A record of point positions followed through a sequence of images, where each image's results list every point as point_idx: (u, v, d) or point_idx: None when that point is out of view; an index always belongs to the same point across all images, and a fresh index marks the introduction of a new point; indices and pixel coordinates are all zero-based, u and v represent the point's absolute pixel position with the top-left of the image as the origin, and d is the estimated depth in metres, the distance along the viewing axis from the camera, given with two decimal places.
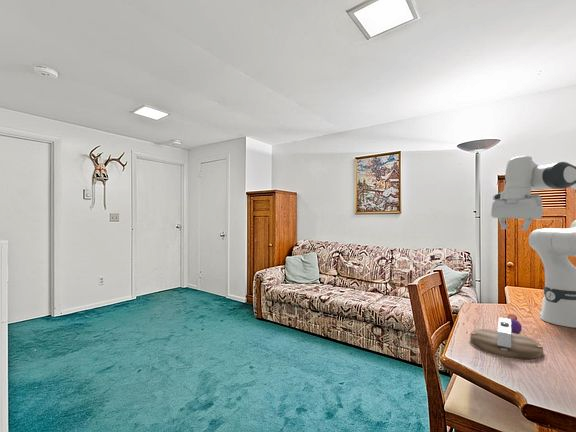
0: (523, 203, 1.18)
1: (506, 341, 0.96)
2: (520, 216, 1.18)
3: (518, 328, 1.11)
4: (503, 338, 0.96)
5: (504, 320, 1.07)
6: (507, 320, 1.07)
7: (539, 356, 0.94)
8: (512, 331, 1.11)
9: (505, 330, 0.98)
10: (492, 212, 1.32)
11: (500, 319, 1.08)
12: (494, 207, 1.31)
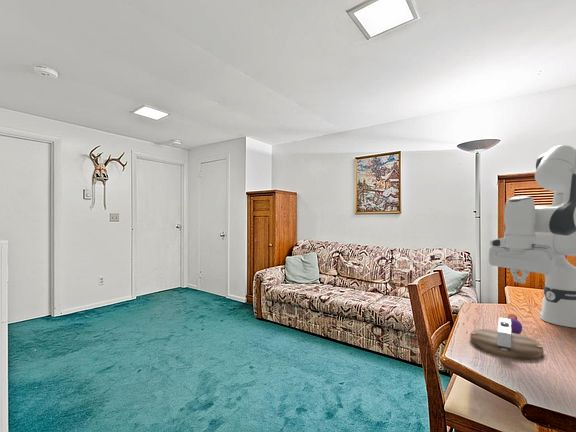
0: (531, 255, 1.00)
1: (506, 341, 0.96)
2: (529, 270, 1.01)
3: (518, 328, 1.11)
4: (503, 338, 0.96)
5: (504, 320, 1.07)
6: (507, 320, 1.07)
7: (539, 356, 0.94)
8: (513, 331, 1.11)
9: (505, 330, 0.98)
10: (490, 259, 1.13)
11: (500, 319, 1.08)
12: (492, 254, 1.12)
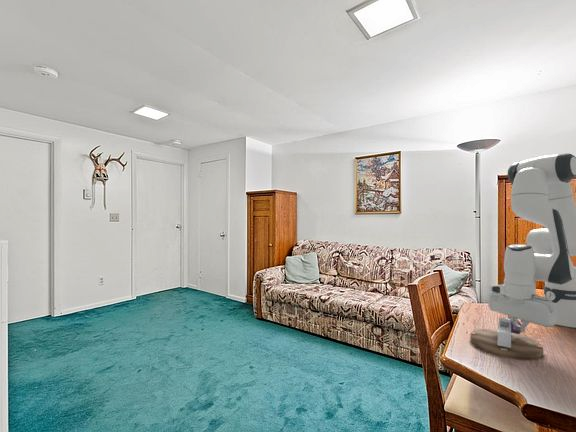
0: (530, 305, 1.00)
1: (506, 341, 0.96)
2: (528, 320, 1.01)
3: None
4: (503, 338, 0.96)
5: (504, 320, 1.07)
6: (507, 320, 1.07)
7: (539, 356, 0.94)
8: (512, 331, 1.11)
9: (505, 330, 0.98)
10: (489, 304, 1.13)
11: (500, 319, 1.08)
12: (492, 299, 1.12)
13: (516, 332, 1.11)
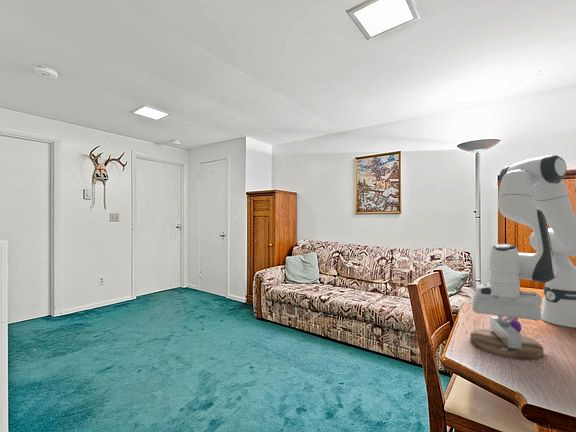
0: (522, 302, 1.05)
1: (517, 342, 0.94)
2: (520, 317, 1.05)
3: (517, 328, 1.11)
4: (514, 340, 0.95)
5: (498, 319, 1.08)
6: (500, 319, 1.08)
7: (539, 356, 0.94)
8: None
9: (511, 330, 0.97)
10: (475, 307, 1.11)
11: (494, 319, 1.09)
12: (477, 301, 1.11)
13: None
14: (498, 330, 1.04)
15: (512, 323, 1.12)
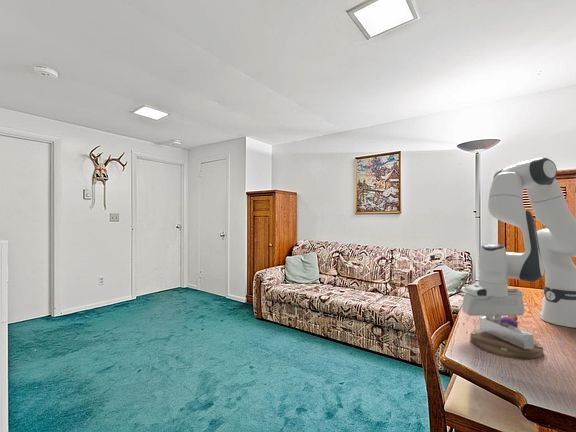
0: (510, 300, 1.08)
1: (530, 342, 0.95)
2: (508, 314, 1.08)
3: None
4: (528, 340, 0.94)
5: (490, 319, 1.08)
6: (491, 318, 1.09)
7: (539, 356, 0.94)
8: None
9: (520, 331, 0.97)
10: (470, 310, 1.08)
11: (487, 319, 1.08)
12: (473, 304, 1.08)
13: None
14: (498, 331, 1.03)
15: (508, 322, 1.13)
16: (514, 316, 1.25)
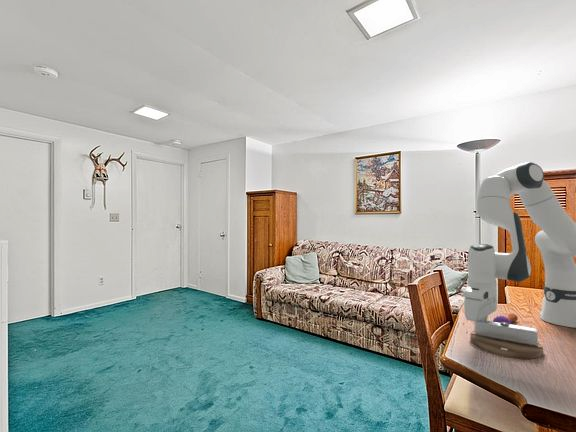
0: (492, 298, 1.10)
1: None
2: (491, 312, 1.10)
3: None
4: None
5: (484, 321, 1.06)
6: None
7: (539, 356, 0.94)
8: None
9: (525, 328, 1.00)
10: (478, 315, 1.02)
11: (484, 322, 1.05)
12: None
13: None
14: (502, 332, 1.02)
15: (501, 321, 1.14)
16: (513, 316, 1.25)
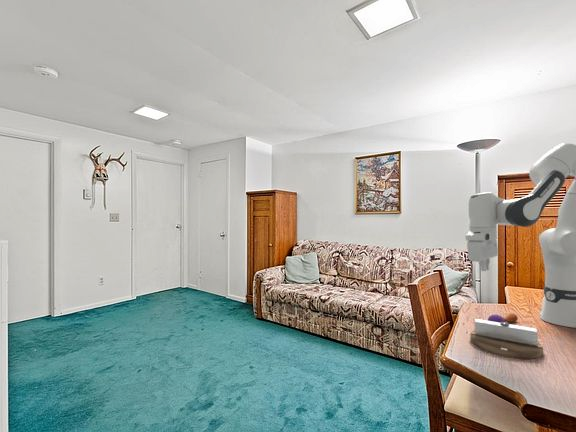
0: (493, 242, 1.18)
1: None
2: (493, 256, 1.17)
3: None
4: (536, 336, 0.98)
5: (484, 321, 1.06)
6: (483, 320, 1.07)
7: (539, 356, 0.94)
8: None
9: (525, 328, 1.00)
10: (480, 255, 1.09)
11: (484, 322, 1.05)
12: (481, 249, 1.09)
13: None
14: (502, 332, 1.02)
15: (495, 319, 1.16)
16: (513, 316, 1.25)
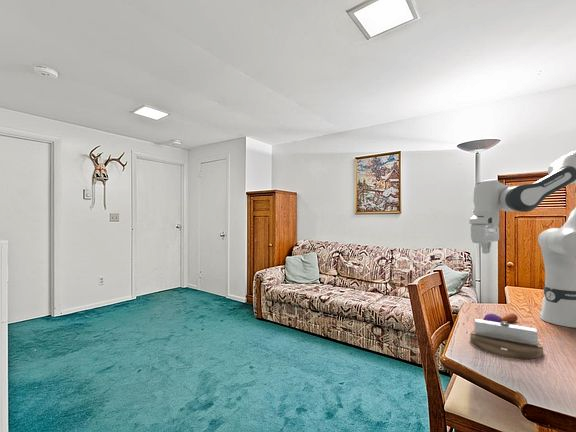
0: (495, 227, 1.25)
1: None
2: (494, 240, 1.24)
3: None
4: (536, 336, 0.98)
5: (484, 321, 1.06)
6: (483, 320, 1.07)
7: (539, 356, 0.94)
8: None
9: (525, 328, 1.00)
10: (482, 237, 1.16)
11: (484, 322, 1.05)
12: (484, 232, 1.16)
13: None
14: (502, 332, 1.02)
15: (490, 318, 1.17)
16: (512, 315, 1.26)
